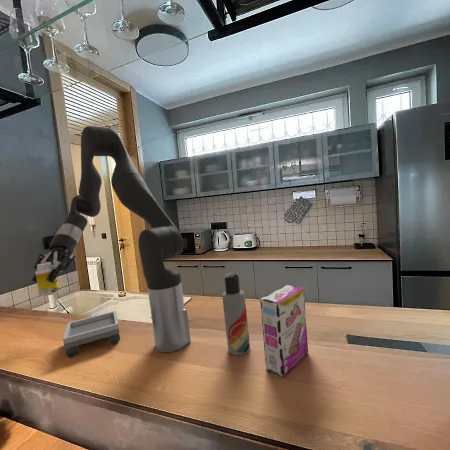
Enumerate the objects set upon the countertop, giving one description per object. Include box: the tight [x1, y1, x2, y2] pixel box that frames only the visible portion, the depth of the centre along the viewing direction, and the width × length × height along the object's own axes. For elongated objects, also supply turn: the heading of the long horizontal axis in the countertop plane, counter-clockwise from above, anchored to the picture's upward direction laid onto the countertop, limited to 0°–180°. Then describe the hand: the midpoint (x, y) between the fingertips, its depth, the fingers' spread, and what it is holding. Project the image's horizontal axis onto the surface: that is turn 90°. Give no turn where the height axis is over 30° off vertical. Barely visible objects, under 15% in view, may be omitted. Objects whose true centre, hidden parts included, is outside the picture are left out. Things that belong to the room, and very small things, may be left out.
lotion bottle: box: [221, 272, 251, 356], centre depth 66 cm, size 6×6×20 cm
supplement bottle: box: [34, 261, 60, 297], centre depth 85 cm, size 6×6×10 cm
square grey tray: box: [62, 310, 121, 358], centre depth 79 cm, size 14×12×6 cm
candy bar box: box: [259, 284, 309, 378], centre depth 59 cm, size 11×5×16 cm, turn 135°
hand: (42, 281), depth 83 cm, fingers closed on supplement bottle, 5 cm apart
